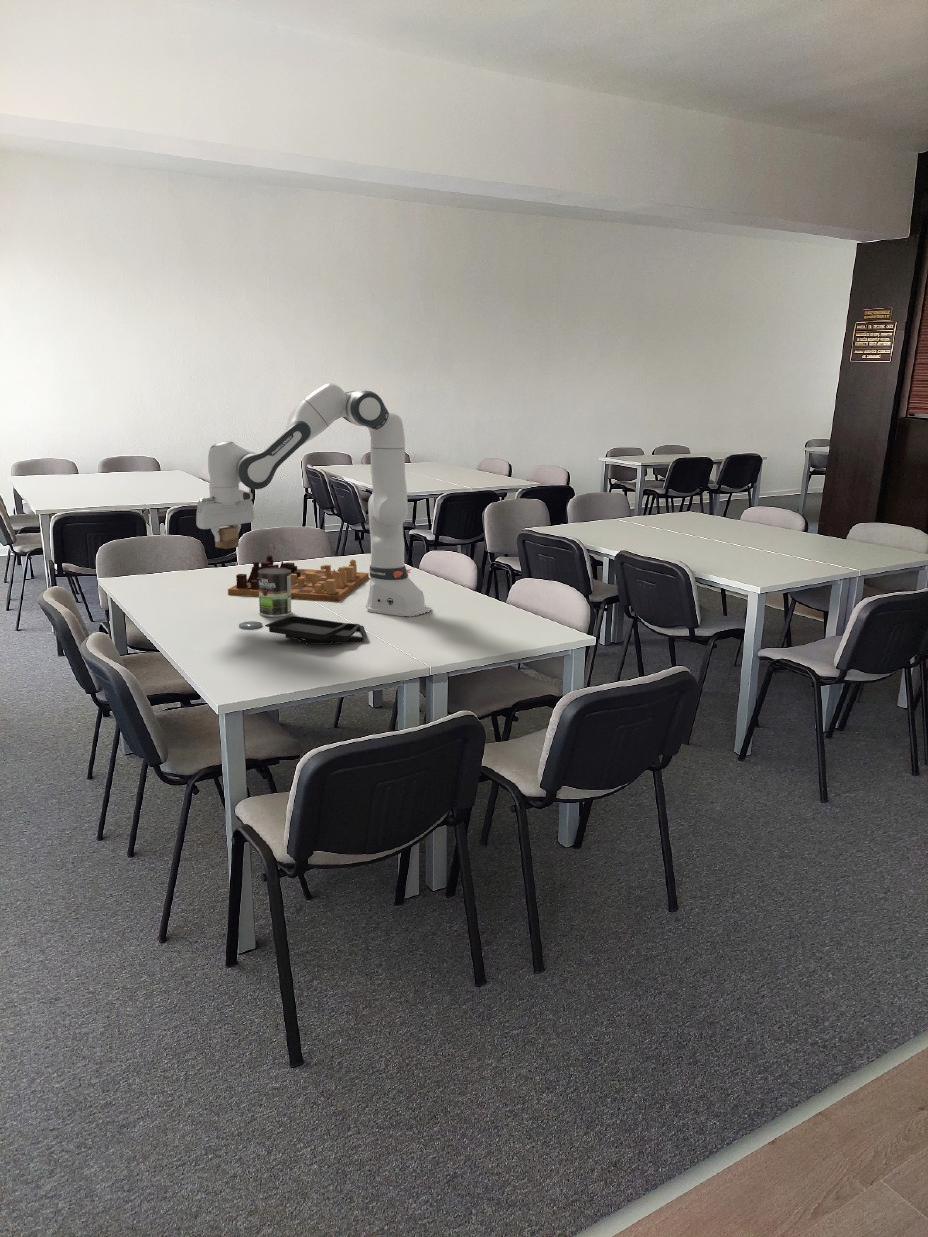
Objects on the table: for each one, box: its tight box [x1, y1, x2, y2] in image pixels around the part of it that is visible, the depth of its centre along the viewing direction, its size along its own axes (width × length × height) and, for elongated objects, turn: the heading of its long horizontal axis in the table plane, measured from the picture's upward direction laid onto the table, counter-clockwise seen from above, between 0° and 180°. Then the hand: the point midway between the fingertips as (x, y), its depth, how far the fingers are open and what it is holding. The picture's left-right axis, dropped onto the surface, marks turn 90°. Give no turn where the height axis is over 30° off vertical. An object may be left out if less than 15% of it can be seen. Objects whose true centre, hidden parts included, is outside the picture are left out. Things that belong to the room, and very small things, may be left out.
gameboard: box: [227, 554, 370, 602], centre depth 328 cm, size 40×40×9 cm
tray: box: [265, 615, 368, 645], centre depth 260 cm, size 30×23×5 cm
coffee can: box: [258, 567, 292, 618], centre depth 288 cm, size 10×10×14 cm
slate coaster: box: [238, 620, 263, 630], centre depth 273 cm, size 7×7×1 cm
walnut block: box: [214, 525, 240, 550], centre depth 278 cm, size 5×5×6 cm
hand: (226, 540), depth 278 cm, fingers closed on walnut block, 5 cm apart
